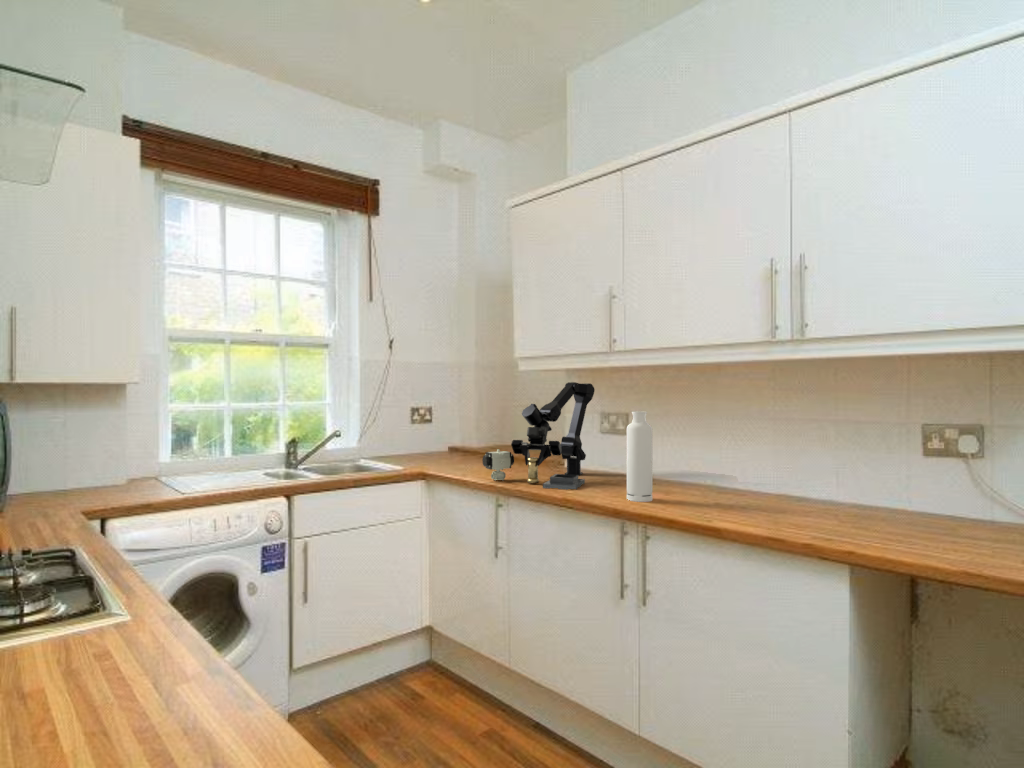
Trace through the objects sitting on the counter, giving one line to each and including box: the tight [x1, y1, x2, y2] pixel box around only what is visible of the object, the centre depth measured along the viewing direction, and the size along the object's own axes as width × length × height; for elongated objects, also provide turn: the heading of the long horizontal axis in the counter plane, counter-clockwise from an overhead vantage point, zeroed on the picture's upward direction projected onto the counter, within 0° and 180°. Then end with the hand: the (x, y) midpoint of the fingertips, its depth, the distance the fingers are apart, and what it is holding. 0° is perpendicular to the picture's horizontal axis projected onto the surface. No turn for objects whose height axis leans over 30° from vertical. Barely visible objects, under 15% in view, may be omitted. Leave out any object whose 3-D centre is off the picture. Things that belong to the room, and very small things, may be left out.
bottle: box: [626, 411, 653, 503], centre depth 183 cm, size 8×8×28 cm
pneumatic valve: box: [482, 449, 515, 481], centre depth 222 cm, size 6×12×12 cm, turn 116°
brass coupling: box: [527, 456, 540, 484], centre depth 214 cm, size 4×4×9 cm
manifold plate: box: [542, 473, 586, 490], centre depth 210 cm, size 16×12×4 cm
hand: (532, 464), depth 212 cm, fingers closed on brass coupling, 4 cm apart
